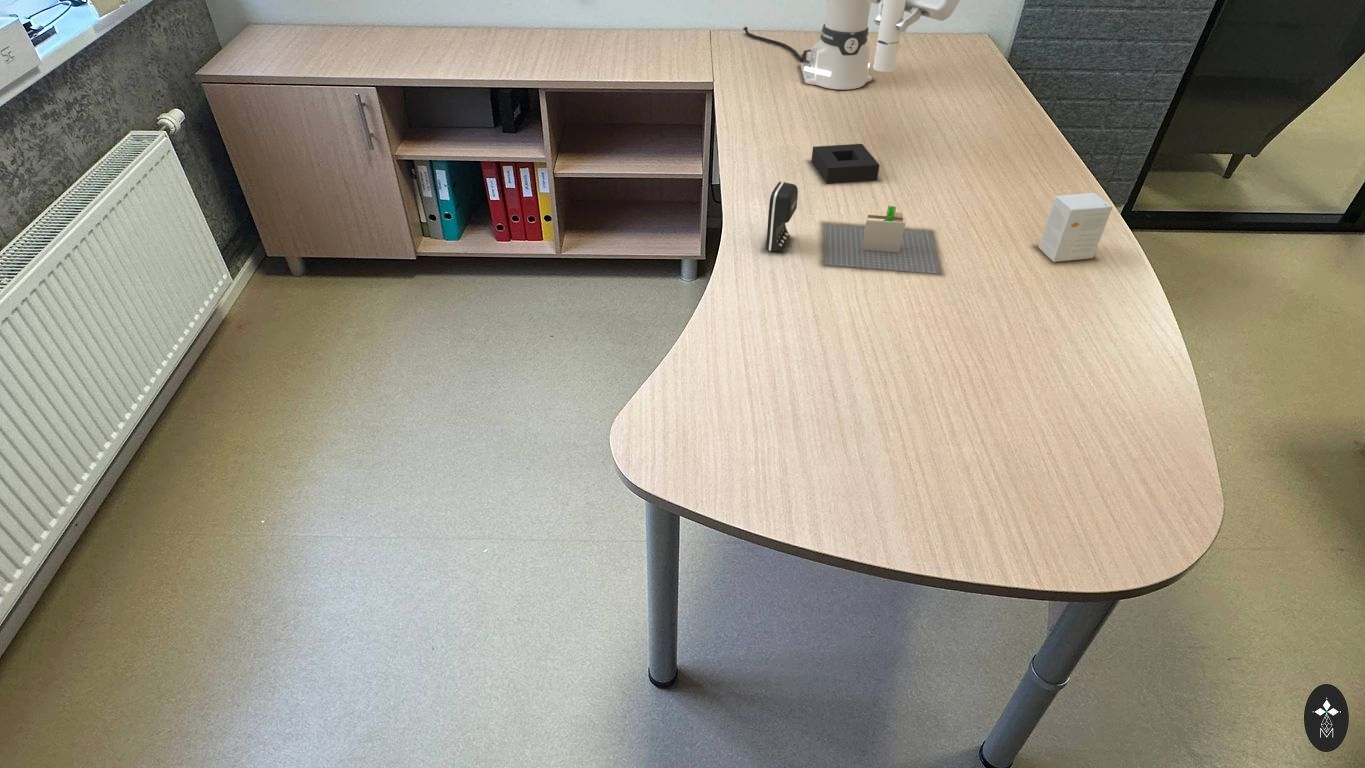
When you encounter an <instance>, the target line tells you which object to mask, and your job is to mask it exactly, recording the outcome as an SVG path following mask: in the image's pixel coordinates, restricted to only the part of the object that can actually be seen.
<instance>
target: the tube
mask: <svg viewBox="0 0 1365 768" xmlns="http://www.w3.org/2000/svg"><path fill="white" fill-rule="evenodd" d="M905 3H906V0H884V2H883V8H882V15H881V21H880V25H879V28H878V35H877V40H876V46H875V53H874V59H873V60H874V61H873V67H872V69H873V70H874V71H877V72H880V73H891V72H894V71H895V67H896V62H897V61H896V60H897V54H898V48H899V44H900V38H901V33H902V32H901V31H898V30H897V28H896V24H897V23H898V21H899V20H900V19H904V14H905V11H904V9H905Z"/></svg>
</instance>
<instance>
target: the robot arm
mask: <svg viewBox="0 0 1365 768" xmlns="http://www.w3.org/2000/svg"><path fill="white" fill-rule="evenodd" d="M960 1H961V0H906V3H905V9H904V12H906V13H909V14H908V15H907V16H906V17H903V19H900V20H899V21H898V23H897V24H896V28H897V30H898V31H901V32H900V33H905V32H906V31H907V29H908V28H909V26H912V25H913V24H914V23H916V22H917V21H919V20H920V19H921V17H925V18H930V19H932V20H937V21H940V22H943V21H945V20H947V19H949V18H950V17H951V16H952V15H953V13H954V11H955V10H956V8H957V6H958V5H959V3H960ZM883 2H884V0H826V6H825V19H824V23H823V25H822V29H821V31H820V36H819V38H820V39H819V40H818V41H817V42H815V44H813V46H811V48H810V49H804V50H803V53H802V54H801V57H800V55H799V53H798V52H797V51H796V49H794V48H792V47H791V46H790V45H788V44H786V43H783V42H781V41H779V40H774V39H770V38H766V37H764V36H763V37H762V36H760V35H759V36H758V35H757V34H756V35H755V34H753V33H751V32H749V29H748V26H747V27H745V26H744V27H745V28H744V27H743V28H742V30H743V31H744V32H745V34H746V35H747V36H748V37H750V38H752V39H756V40H759V41H763V42H766V43H771V44H775V45H778V46H781V47H783V48H785V49H787V50H788V51H790V52H791V53H793V55H794V56H795V58H796V59H797V60H798V61H800V62H801V63H800V69H801V73H802V77H803V81H804V83H805V84H807V85H812V86H817V87H821V88H825V89H831V90H843V91H844V90H854V89H859V88H862V87H864V86H865V85H866V84H867V83H869V82H872V81H873V75H872V74H869V68H870V65H871V63H870V57H871V49H870V48H869V47H868V46H867V43H868V37H869V27H868V26H869V25H868V24H869V18H870V11H871V4H876V5H878V9H877V14H876V15H875V17H874V18H873V19H874V20H873V21H874V23H875V25H877V26H880V21H881V15H882V8H883Z"/></svg>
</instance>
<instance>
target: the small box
mask: <svg viewBox="0 0 1365 768" xmlns="http://www.w3.org/2000/svg"><path fill="white" fill-rule="evenodd" d="M1112 210H1113V206H1112V205H1111V204H1110V203H1109V202H1108V201H1106V200H1105V199H1104V198H1102V197H1101V196H1100V195H1099V194H1098V193H1096V192H1085V193H1077V194H1074V193H1073V194H1064V195H1055V196H1054V198H1053V202H1052V204H1051V208H1050V210H1049V214H1048V215H1047V216H1048V217H1047V220H1046V222H1045V226H1044V229H1043V232H1042V235H1041V237H1040V240H1039V244H1038V249H1040V251H1041V252H1043V253H1044V254H1045V255H1046V257H1048V258H1049V259H1050V261H1052V262H1053V263H1056V262H1068V261H1076V260H1077V261H1079V260H1086V259H1087V260H1089V259H1093V258H1094V256H1095V254H1096V251H1097V249H1098V245H1099V243H1100V241H1101V238H1102V236H1103V233H1104V231H1105V228H1106V225H1107V223H1108V220H1109V218H1110V215H1111V213H1112Z"/></svg>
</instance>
